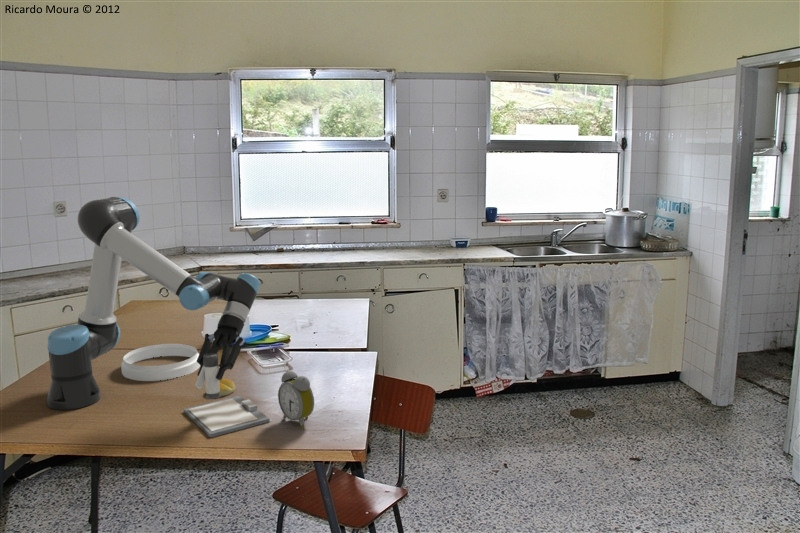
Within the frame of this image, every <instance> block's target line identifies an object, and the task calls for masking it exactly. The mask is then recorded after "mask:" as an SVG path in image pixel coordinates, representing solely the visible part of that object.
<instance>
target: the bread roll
mask: <svg viewBox="0 0 800 533" xmlns="http://www.w3.org/2000/svg"><path fill="white" fill-rule="evenodd" d="M219 386H220V397H227V396H229V395H231V394H232V393H234V392H235V390H236V385H235V383H234V382H233V381H232V380H230V379H229V378H228V379H227V378H222V379H221V380H219Z"/></svg>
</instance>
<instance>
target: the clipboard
mask: <svg viewBox="0 0 800 533" xmlns="http://www.w3.org/2000/svg"><path fill="white" fill-rule="evenodd" d="M183 413H184V414H185V415H186V416H187V417H188V418H189V419H190V420H191V421H192V422H194V423H195V425H197V427H199V429H201V430H202V431H203V432H204V433H205V434H206V435H207V436H208V437H209V438H215V437H218V436H222V435H225V434H226V435H227V434H229V433H235V432H237V431H241V430H244V429H248V428H252V427H255V426H259V425H263V424H267V423H269V422H271V421H270V418H269V417H268V416H267V415H266V414H264V413H263V412H261V410H260V409H258V405H257V404H256V403H255V402H253V401H252V400H250V399H249V398H248V399H244V398H243V396H241V395H236V396H232V397H227V398H224V399H220V400H215V401H210V402H206V403H203V404H198V405H194V406H189V407H185V408H183Z"/></svg>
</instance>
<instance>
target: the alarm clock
mask: <svg viewBox="0 0 800 533" xmlns="http://www.w3.org/2000/svg"><path fill="white" fill-rule="evenodd" d="M280 380H281V384H280V386H279V387H278V388H279V389H278V391H277V397H278V405H279V407H280V410H281V411H282V414H283V417H282V418H283V419H285V420H286V419H289V421H290V420H291V421H298V422H299V424H300V427H301V428H302V429H305V419H306V420H308V419H309V416H310V415H311V414H312V413H313V411H314V407H315V396H314V393H313V390H312V388H311V381H310V380H309V379H308V377H306V376H303V375H300V376H298V374H297V373H296V372H294V371H293V370H292V371H291V370H286V371H285V372H284V373H283V374H282V376H281V379H280Z"/></svg>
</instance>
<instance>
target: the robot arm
mask: <svg viewBox="0 0 800 533" xmlns="http://www.w3.org/2000/svg"><path fill="white" fill-rule="evenodd" d="M139 212H140V211H139V209H138V207H137V206H136V204H135V202H133V201H131V200H130V199H128V198H126V197H122V196H111V197H108V198H103V199H102V198H101V199H93V200H91V201H88V202H86V203H85V204H84V205H83V206H81V208H80V210H79V211H78V214H77V224H78V227H79V230H80V231H81V232H82V234H83V236H85V238H87V239H88V240H89V241H91V242H92V243H94V248H93V253H92V254H93V255H92V261H91V262H92V263H91V267H90V274H89V281H88V287H87V293H86V294H87V295H86V298H85V299H86V300H85V306H84V307H85V308H84V310H83V311H82V312H80V313H79V314H78V320H77V324H69V325H65V326H61V327H59V328H57V329H54V330H52V331H51V332H50V334H48V336H47V337H48V338H47V351H48V357H49V359H48V360H49V368H50V376H51V377H50V378H51V382H50V386H49V390H48V393H47V398H46V400H47V401H46V402H47V406H48V407H49V408H50V409H52V410H58V411H65V410H66V411H68V410H69V411H70V410H76V409H81V408H86V407H88V406H91V405H93V404H95V403H97V402H98V401H99V400H101V389H100V387H99V385H98V383H97V381H96V379H95V377H94V375H93V374H94V373H93V364H92V363H93V362H92V361H94V360H95V359H97V358H98V357H100V356H103V355H104V354H106V353H108V352H110V351H111V350H113V348H115V346H117V344H118V343H119V340H120V338H121V328H120V326H118V322H117V320H118V317H117V316H116V315H115V314H114V308H115V302H116V296H117V290H118V284H119V280H120V279H119V278H120V272H121V266H122V259H123V260H124V261H125V262H128V263H129V264H130V265H132V266H133V267H135V268H136V269H137V270H139V271H140V272H142V273H144V274H145V275H146V276H148V277H149V278H151V279H152V280H153V281H155V282H156V283H157V284H160V286H162V287H163V288H165V289H166V290H168V291H170V292H171V293H173V294H174V295H175V296H176V297H178V298H179V303H180V305H181V307H183V308H184V309H185V310H187V311H196V310H199V309H202V308H204V307H206V306H207V305H208V304H210V303H212V302H213V301H215V300H220V301H225V302H226V304H225V307H224V308H223V311H222V315H221V316H220V318H219V321H218V323H217V327H216V330H215V331H214V332H213V333H212V334H211V333H210V334H209V333H205V334H204V341H203V344H202V347H201V348H200V352H199V356H198V359H197V363H198V364H200V367H199V368H198V369H199V370H198V372H197V375H196V376H198V377H197V379H196V381H195V383H194V387H196V388H198V390H202V388H203V387H204V384H205V371H204V362H203V355H205V354H208V353H217V354H218V353H219V351H220V350H221V349H222V353H221V356H220V362H219V363H218V367H216V369H215V372H214V374H213V377H212V379H211V381H210V384H209V386H208V387H209V388H210V389H211V390H212V391H215V389H216V387H217V384H218V382H219V380H221V379H223V377H224V374H225V372H226V371H227V370H231V371H232V369H233V368H234V366H235V363H236V361H237V359H238V357H239V354H240V352H241V350H242V348H243V347H244V346H245V345H246V340H245V339H244V338H243V337H242V336H240V335H241V334H242V332H243V329H244V326H245V323H246V321H247V319H248V316H249V314H250V311H251V309H252V307H253V304H254V302H255V299H256V297H257V296H258V291H259V289H260V286H261V283H260V280H259V278H258V277H257V276H255V275H253V274H250V273H247V272H245V273H243V272H241V273H240V274H239V275H238V276H237V278H232V277H229V276H224V275H220V274H216V273H213V272H208V271H207V272H206V271H200V272H198V274H197V275H196V277H195V276H193V275H192V274H191V273H189V271H186V270H185V269H183V268H182V267H180V266H179V265H177V264H176V263H175V262H173V261H172V260H170V259H169V258H167V257H166V256H165V255H164V254H162V253H160V252H159V251H157V250H156V249H154V248H153V247H152V246H150V245H149V244H147V243H146V242H144V241H143V240H142V239H141V238H139V237H138V236H136V235H134V234H133V233H132V231H134V230H135V229H136V227H137V226H138V225H139V223H140V213H139Z"/></svg>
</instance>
